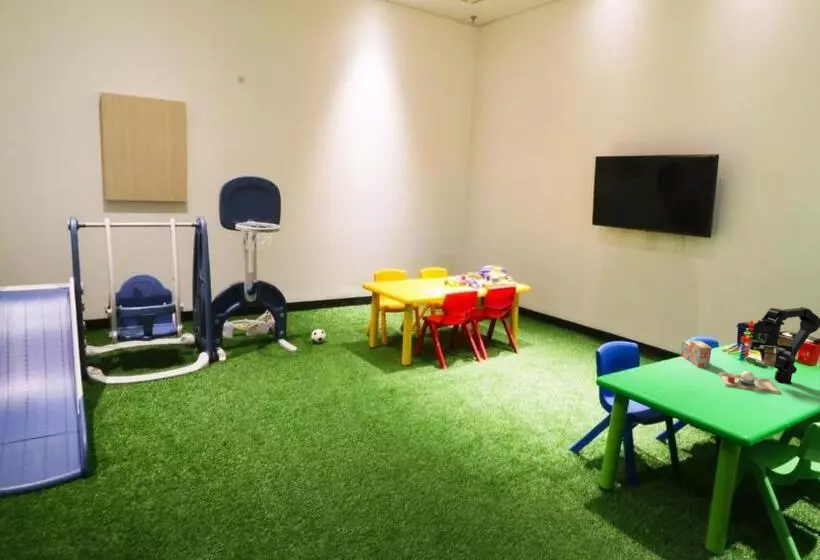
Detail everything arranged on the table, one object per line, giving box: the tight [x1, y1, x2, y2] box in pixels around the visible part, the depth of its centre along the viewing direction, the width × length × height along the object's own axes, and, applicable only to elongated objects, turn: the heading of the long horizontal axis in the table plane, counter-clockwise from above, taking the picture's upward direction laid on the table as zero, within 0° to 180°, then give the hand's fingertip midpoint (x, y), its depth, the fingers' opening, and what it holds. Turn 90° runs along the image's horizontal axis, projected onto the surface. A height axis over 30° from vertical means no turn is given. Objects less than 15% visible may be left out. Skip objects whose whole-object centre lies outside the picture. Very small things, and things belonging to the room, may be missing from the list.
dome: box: [739, 370, 755, 384], centre depth 277 cm, size 7×7×6 cm
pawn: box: [760, 347, 776, 367], centre depth 282 cm, size 5×5×8 cm
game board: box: [718, 371, 781, 395], centre depth 282 cm, size 24×18×4 cm
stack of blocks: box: [680, 340, 712, 369], centre depth 315 cm, size 21×6×12 cm, turn 178°
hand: (768, 361), depth 283 cm, fingers closed on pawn, 5 cm apart
